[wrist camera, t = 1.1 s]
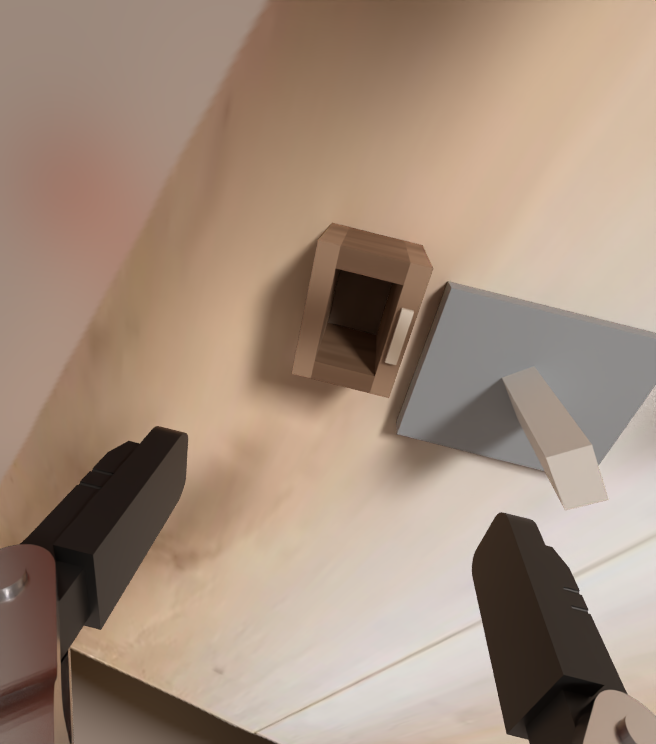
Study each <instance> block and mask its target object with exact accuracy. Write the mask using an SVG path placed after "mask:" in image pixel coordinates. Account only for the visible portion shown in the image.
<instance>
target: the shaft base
mask: <svg viewBox="0 0 656 744" xmlns="http://www.w3.org/2000/svg"><path fill="white" fill-rule="evenodd" d="M655 385H656V333H654V332H650V331H646V330H642V329H638V328H634V327H630V326H625V325H621V324H617V323H613V322H609V321H605V320H601V319H597V318H593V317H589V316H585V315H581V314H577V313H573V312H569V311H565V310H561V309H557V308H553V307H549V306H545V305H541V304H537V303H533V302H529V301H525V300H521V299H517V298H513V297H509V296H505V295H501V294H497V293H493V292H489V291H485V290H481V289H477V288H473V287H469V286H465V285H461V284H457V283H453V282H449V281H448V283H447V285H446V288H445V291H444V294H443V296H442V299H441V302H440V305H439V307H438V310H437V313H436V315H435V318H434V321H433V324H432V326H431V329H430V332H429V335H428V337H427V340H426V343H425V345H424V348H423V351H422V354H421V356H420V359H419V362H418V365H417V367H416V370H415V373H414V376H413V378H412V381H411V384H410V386H409V389H408V392H407V395H406V397H405V400H404V403H403V406H402V408H401V411H400V414H399V416H398V419H397V422H396V425H397V434H398V435H402V436H406V437H410V438H414V439H418V440H422V441H426V442H430V443H434V444H438V445H442V446H446V447H450V448H454V449H458V450H462V451H466V452H470V453H474V454H478V455H482V456H486V457H490V458H494V459H498V460H502V461H506V462H510V463H514V464H518V465H522V466H526V467H530V468H534V469H538V470H542V471H545V473H546V475H547V477H548V479H549V480H550V482H551V484H552V486H553V488H554V490H555V492H556V494H557V496H558V498H559V500H560V502H561V503H562V505H563V507H564V509H565V510H569V509H573V508H577V507H582V506H586V505H590V504H594V503H598V502H602V501H606V500H609V499H608V496H607V492H606V489H605V486H604V483H603V479H602V476H601V473H600V469H599V464H600V463H601V461H602V460H603V459H604V457H605V456H606V454H607V453H608V451H609V450H610V449H611V447H612V446H613V444H614V443H615V442H616V440H617V439H618V437H619V436H620V435H621V433H622V432H623V430H624V429H625V427H626V426H627V425H628V423H629V422H630V420H631V419H632V418H633V416H634V415H635V413H636V412H637V411H638V409H639V408H640V406H641V405H642V403H643V402H644V401H645V399H646V398H647V396H648V395H649V394H650V392H651V391H652V389H653V388H654V387H655Z"/></svg>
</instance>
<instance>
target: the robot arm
mask: <svg viewBox="0 0 656 744" xmlns="http://www.w3.org/2000/svg"><path fill="white" fill-rule="evenodd" d="M187 449H188V435H187V433H184V432H180V431H176V430H172V429H168V428H164V427H160V426H156V427H154V428H153V429H152V430H151V431H150V432H149V434H148V435H147V436H146V437H145V438H144V439H143V441H142V442H141V443H140V444H139V443H135V442H131V441H128V442H126V443H124V444H122V445H120V446H119V447H117V448H115V449H113V450H111V451H109V452H108V453H107V454H106V455H105V456H104V457H103V458H102V459H101V460H100V461H99V462H98V463H97V464H96V465H95V466H94V468H93V470H92V472H91V471H90V472H89V473H88V474H87V475H86V476H85V477H84V478H83V479H82V480H81V481H80V484H79V485H76V487H75V488H74V489H73V490H72V491H71V492H70V493H69V494H68V495H67V496H66V497H65V498H64V499H63V500H62V501H61V502H60V503H59V504H58V506H57V507H56V508H55V509H54V510H53V511H52V512H51V513H50V514H49V515H48V516H47V517H46V518H45V519H44V520H43V521H42V522H41V524H40V525H39V526H38V527H37V528H36V529H35V530H34V531H33V532H32V533H31V534H30V535H29V536H28V537H27V538H26V539H25V540H24V541H23V542H22V543H20V544H19V545H13V546H8V547H5V548H2V549H0V744H74V729H73V707H72V684H71V660H70V646H71V644H72V643H73V641H74V640H75V638H76V637H77V635H78V633H79V632H80V630H81V629H82V627H83V626H88V627H92V628H96V629H100V630H101V629H102V627H103V626H104V624H105V622H106V621H107V619H108V617H109V616H110V614H111V612H112V611H113V609H114V607H115V606H116V604H117V602H118V601H119V599H120V597H121V596H122V594H123V592H124V591H125V589H126V587H127V586H128V584H129V582H130V581H131V579H132V577H133V576H134V574H135V572H136V571H137V569H138V567H139V566H140V564H141V562H142V561H143V559H144V557H145V556H146V554H147V552H148V551H149V549H150V547H151V546H152V544H153V542H154V541H155V539H156V537H157V536H158V534H159V533H160V531H161V529H162V528H163V526H164V524H165V523H166V521H167V519H168V518H169V516H170V514H171V513H172V511H173V509H174V508H175V506H176V504H177V503H178V501H179V499H180V496H181V494H182V491H183V488H184V485H185V480H186V467H187ZM472 576H473V581H474V586H475V590H476V595H477V600H478V604H479V609H480V614H481V618H482V623H483V627H484V632H485V637H486V641H487V646H488V650H489V655H490V660H491V664H492V669H493V673H494V678H495V683H496V687H497V692H498V696H499V701H500V706H501V710H502V715H503V719H504V724H505V729H506V733H507V734H508V735H512V736H516V737H520V738H524V739H528V740H529V743H530V744H656V716H655V715H654V714H653V713H652V712H651V711H650V710H649V709H648V708H647V707H645V706H644V705H643V704H642V703H640V702H639V701H638V700H636V699H634V698H633V697H631V696H629V695H628V694H627V692H626V690H625V688H624V686H623V684H622V682H621V679H620V677H619V675H618V673H617V671H616V669H615V666H614V664H613V662H612V660H611V658H610V656H609V653H608V651H607V649H606V647H605V645H604V643H603V640H602V638H601V636H600V634H599V632H598V629H597V627H596V625H595V623H594V621H593V619H592V616H591V614H588V608H587V606H586V603H585V601H584V599H583V597H582V595H580V594H579V591H580V590H579V588H578V586H577V584H576V582H575V579H574V577H573V575H572V573H571V571H570V569H569V567H568V566H567V565H566V564H565V562H564V561H563V560H562V559H561V557H560V556H559V555H558V554H557V552H556V551H555V550H554V549H553V547H550V546H546V545H545V543H544V541H543V538H542V536H541V534H540V531H539V529H538V527H537V525H536V523H535V522H534V521H533V520H531V519H527V518H523V517H519V516H515V515H511V514H507V513H502V512H501V513H499V514H497V515H496V517H495V518H494V520H493V522H492V523H491V525H490V527H489V529H488V530H487V532H486V534H485V535H484V537H483V539H482V541H481V542H480V544H479V546H478V547H477V549H476V551H475V553H474V557H473V562H472Z"/></svg>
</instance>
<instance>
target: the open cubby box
mask: <svg viewBox="0 0 656 744" xmlns="http://www.w3.org/2000/svg"><path fill="white" fill-rule="evenodd" d="M340 270H344V271H349V272H353V273H357V274H361V275H365V276H369V277H373V278H377V279H381V280H385V281H389V282H392V285H391V288H390V292H389V295H388V298H387V302H386V305H385V308H384V312H383V315H382V318H381V322H380V325H379V328H378V332H377V335H375V334H371V333H367V332H363V331H359V330H355V329H351V328H347V327H343V326H339V325H335V324H331V323H328V320H329V315H330V311H331V307H332V302H333V298H334V294H335V289H336V285H337V281H338V276H339V272H340ZM432 271H433V267H432V265H431V263H430V260H429V258H428V256H427V254H426V252H425V250H424V248H423V246H422V245H419V244H415V243H411V242H407V241H403V240H399V239H395V238H391V237H387V236H383V235H379V234H375V233H371V232H367V231H363V230H359V229H355V228H351V227H347V226H343V225H339V224H335V223H332V224H331V225H330V226H329V227H328V228H327V230H326V231H325V232H324V233H323V235H322V236H321V237H320V238H319V239H318V243H317V248H316V253H315V258H314V263H313V268H312V273H311V278H310V283H309V288H308V293H307V298H306V303H305V308H304V313H303V318H302V323H301V329H300V334H299V339H298V344H297V349H296V354H295V359H294V364H293V369H292V374H295V375H299V376H303V377H307V378H311V379H315V380H319V381H323V382H327V383H331V384H335V385H339V386H343V387H347V388H351V389H355V390H359V391H363V392H367V393H371V394H375V395H379V396H383V397H387V398H389V396H390V393H391V390H392V388H393V385H394V382H395V379H396V376H397V373H398V370H399V367H400V364H401V361H402V358H403V355H404V353H405V350H406V347H407V344H408V341H409V338H410V335H411V332H412V329H413V326H414V323H415V320H416V318H417V315H418V312H419V309H420V306H421V303H422V300H423V297H424V294H425V291H426V288H427V285H428V283H429V280H430V277H431V274H432Z"/></svg>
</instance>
